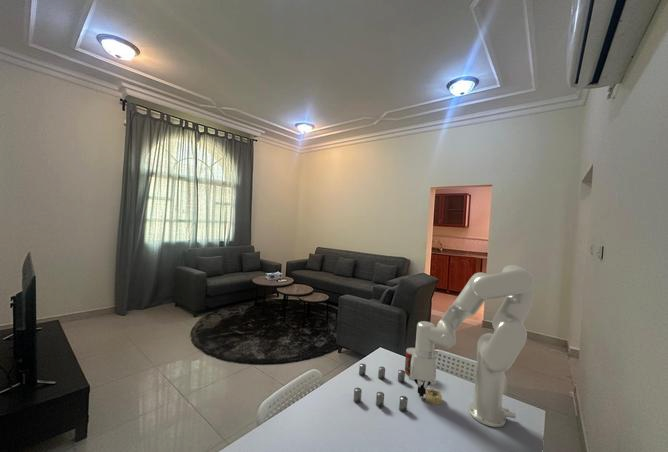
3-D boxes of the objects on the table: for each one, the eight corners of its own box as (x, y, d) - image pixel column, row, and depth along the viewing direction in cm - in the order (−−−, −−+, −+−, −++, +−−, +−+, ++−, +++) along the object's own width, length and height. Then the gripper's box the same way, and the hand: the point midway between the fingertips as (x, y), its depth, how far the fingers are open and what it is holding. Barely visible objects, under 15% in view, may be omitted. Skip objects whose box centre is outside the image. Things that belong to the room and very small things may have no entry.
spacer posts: (404, 380, 131) (404, 370, 130) (407, 412, 108) (407, 401, 108) (359, 372, 135) (360, 363, 135) (353, 402, 112) (353, 391, 112)
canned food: (401, 369, 140) (403, 348, 139) (415, 368, 142) (417, 346, 142) (410, 378, 132) (411, 355, 132) (424, 376, 135) (426, 354, 134)
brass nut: (435, 394, 121) (435, 387, 121) (444, 403, 116) (445, 396, 116) (421, 396, 119) (422, 389, 119) (430, 405, 113) (431, 398, 113)
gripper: (441, 351, 120) (438, 393, 120) (405, 345, 123) (402, 386, 123) (444, 359, 112) (441, 404, 113) (406, 353, 115) (403, 397, 116)
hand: (421, 395), depth 118 cm, fingers closed
